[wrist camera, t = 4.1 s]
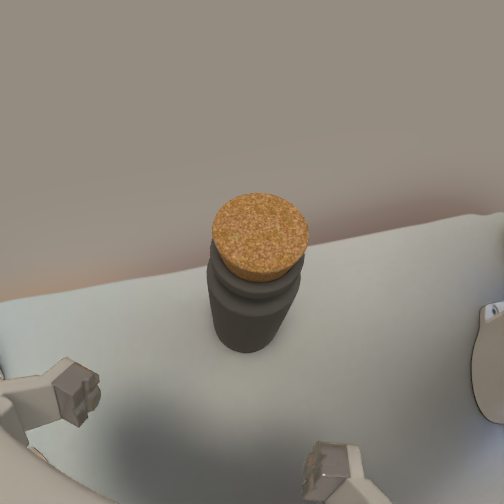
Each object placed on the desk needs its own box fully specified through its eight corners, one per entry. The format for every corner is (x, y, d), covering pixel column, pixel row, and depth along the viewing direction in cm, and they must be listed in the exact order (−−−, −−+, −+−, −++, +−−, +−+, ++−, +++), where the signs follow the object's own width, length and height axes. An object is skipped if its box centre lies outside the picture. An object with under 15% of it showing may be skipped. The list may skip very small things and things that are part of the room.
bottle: (214, 294, 28) (202, 184, 15) (274, 293, 29) (310, 185, 16) (214, 353, 25) (197, 284, 12) (279, 352, 26) (330, 281, 13)
